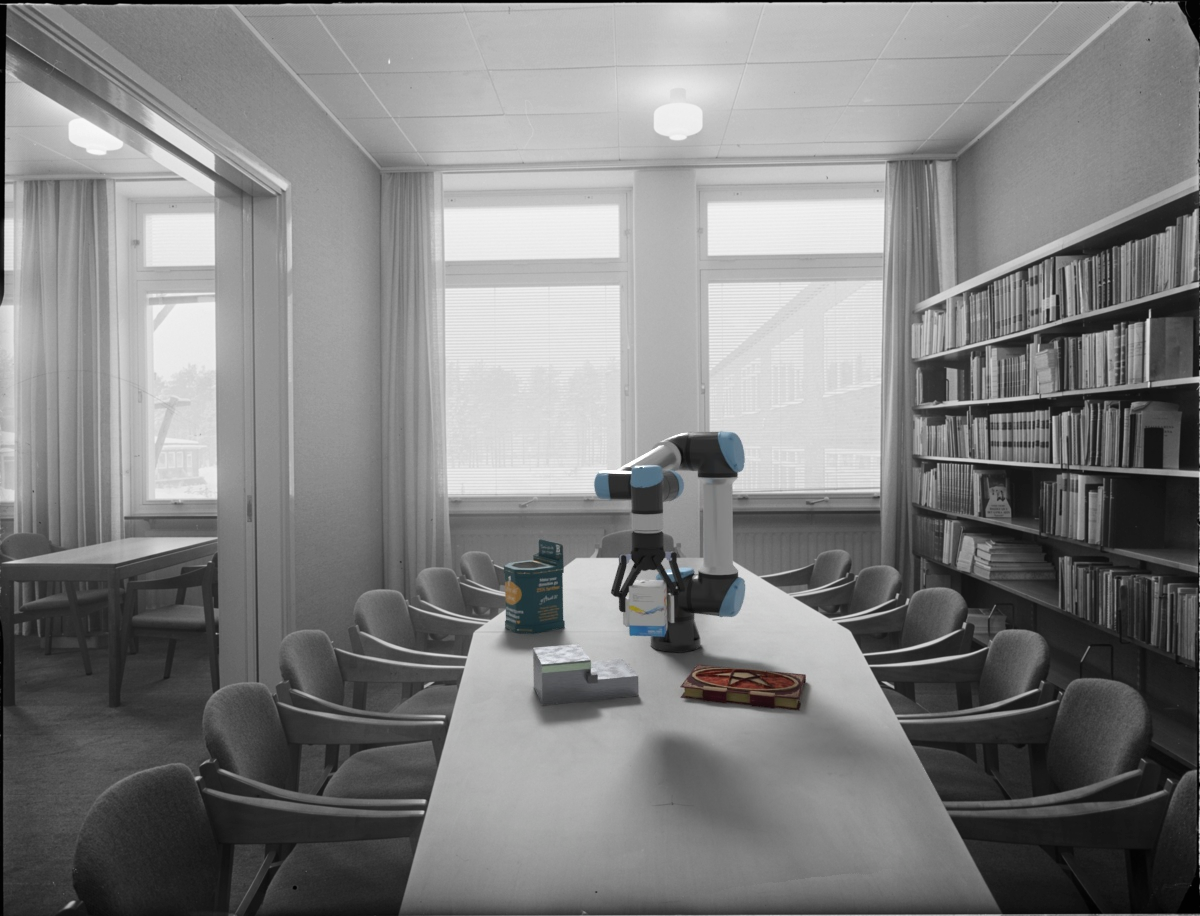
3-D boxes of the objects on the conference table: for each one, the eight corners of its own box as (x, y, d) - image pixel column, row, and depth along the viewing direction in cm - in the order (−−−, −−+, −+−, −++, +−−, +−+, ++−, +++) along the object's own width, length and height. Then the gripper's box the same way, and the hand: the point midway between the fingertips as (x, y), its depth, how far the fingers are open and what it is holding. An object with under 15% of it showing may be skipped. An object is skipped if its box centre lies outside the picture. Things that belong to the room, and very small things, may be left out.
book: (805, 686, 193) (805, 667, 193) (799, 714, 173) (799, 692, 173) (697, 675, 202) (697, 657, 202) (679, 701, 182) (679, 680, 182)
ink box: (665, 637, 172) (664, 587, 172) (628, 636, 174) (627, 586, 173) (668, 627, 181) (667, 579, 180) (633, 626, 182) (632, 578, 182)
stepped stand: (623, 677, 198) (623, 640, 198) (641, 698, 182) (640, 658, 182) (533, 686, 192) (533, 647, 192) (543, 708, 177) (543, 667, 176)
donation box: (564, 627, 248) (563, 544, 247) (521, 636, 239) (520, 549, 238) (540, 618, 262) (539, 538, 261) (499, 625, 253) (497, 543, 252)
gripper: (687, 526, 183) (688, 615, 184) (596, 531, 177) (598, 623, 178) (698, 530, 175) (699, 623, 176) (604, 535, 170) (605, 631, 171)
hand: (648, 623), depth 177 cm, fingers closed on ink box, 10 cm apart
